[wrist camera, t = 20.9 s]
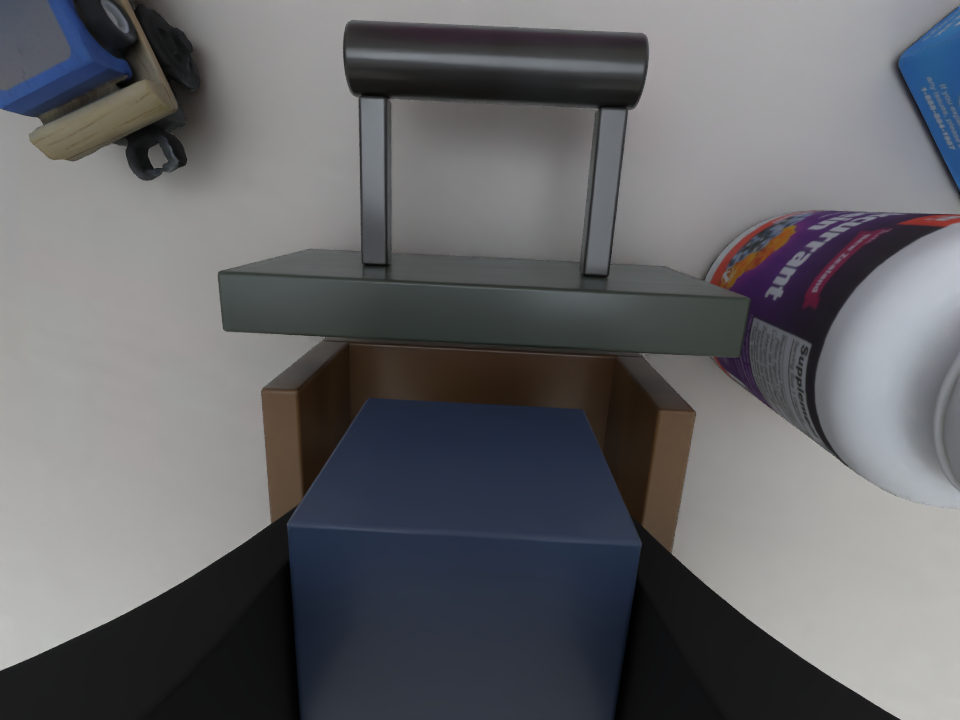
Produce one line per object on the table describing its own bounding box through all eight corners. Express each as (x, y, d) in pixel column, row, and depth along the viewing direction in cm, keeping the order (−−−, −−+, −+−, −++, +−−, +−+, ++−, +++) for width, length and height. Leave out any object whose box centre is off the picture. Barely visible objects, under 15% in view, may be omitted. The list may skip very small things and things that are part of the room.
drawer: (299, 55, 14) (186, -30, 9) (695, 73, 14) (812, -2, 9) (324, 607, 19) (261, 755, 14) (614, 623, 18) (659, 779, 13)
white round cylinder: (852, 178, 15) (1445, 137, 6) (892, 346, 16) (1425, 538, 7) (667, 256, 16) (922, 335, 6) (721, 411, 17) (996, 665, 8)
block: (369, 579, 12) (302, 783, 8) (366, 396, 11) (284, 522, 6) (564, 589, 12) (603, 802, 8) (584, 407, 11) (644, 541, 6)
